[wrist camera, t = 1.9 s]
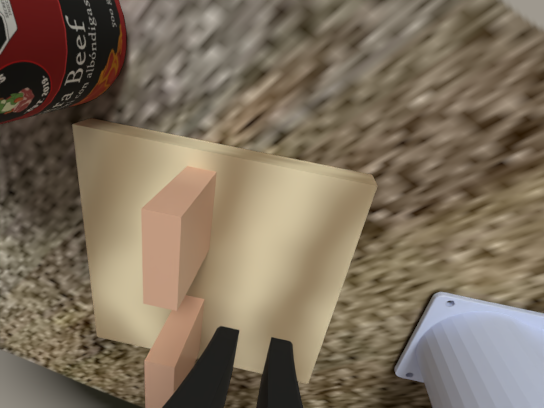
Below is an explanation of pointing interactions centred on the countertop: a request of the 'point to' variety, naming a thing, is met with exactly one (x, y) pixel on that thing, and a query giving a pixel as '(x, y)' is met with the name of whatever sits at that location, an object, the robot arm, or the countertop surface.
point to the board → (222, 239)
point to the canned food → (57, 53)
